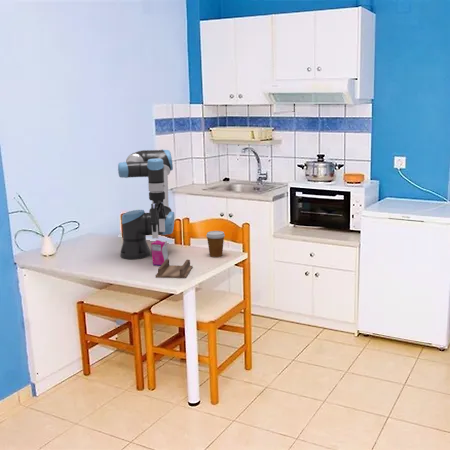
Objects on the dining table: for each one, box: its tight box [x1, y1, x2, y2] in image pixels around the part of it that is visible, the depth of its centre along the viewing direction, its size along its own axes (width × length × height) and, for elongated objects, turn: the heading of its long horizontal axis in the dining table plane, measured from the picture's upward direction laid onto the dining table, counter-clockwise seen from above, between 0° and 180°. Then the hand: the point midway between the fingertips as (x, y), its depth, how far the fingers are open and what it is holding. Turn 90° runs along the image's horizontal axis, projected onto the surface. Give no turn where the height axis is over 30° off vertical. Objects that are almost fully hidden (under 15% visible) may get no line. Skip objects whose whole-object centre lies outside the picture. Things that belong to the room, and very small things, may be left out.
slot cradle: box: [155, 258, 194, 279], centre depth 261 cm, size 14×16×4 cm
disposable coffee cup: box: [205, 230, 226, 258], centre depth 287 cm, size 10×10×12 cm
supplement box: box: [150, 239, 169, 267], centre depth 274 cm, size 6×6×12 cm
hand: (158, 235), depth 272 cm, fingers open, 13 cm apart
